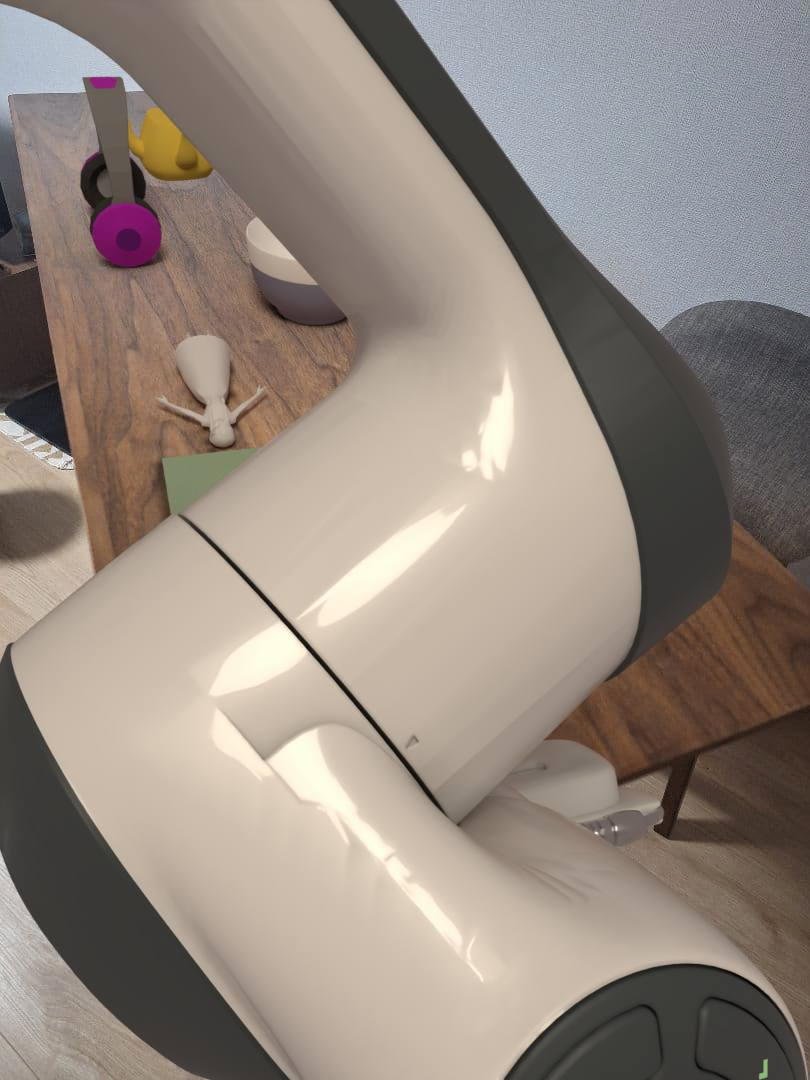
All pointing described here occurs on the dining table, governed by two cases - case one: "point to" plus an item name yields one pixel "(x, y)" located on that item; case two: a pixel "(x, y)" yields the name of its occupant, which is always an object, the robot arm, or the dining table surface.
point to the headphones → (116, 182)
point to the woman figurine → (209, 384)
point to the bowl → (287, 280)
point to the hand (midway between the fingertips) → (334, 797)
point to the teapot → (166, 150)
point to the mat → (198, 474)
